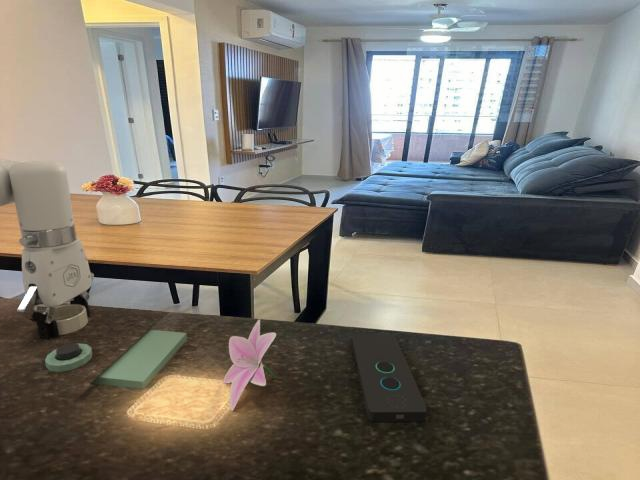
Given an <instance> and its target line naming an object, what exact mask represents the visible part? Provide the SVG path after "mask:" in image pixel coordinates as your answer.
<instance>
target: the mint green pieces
mask: <svg viewBox="0 0 640 480" xmlns="http://www.w3.org/2000/svg"><path fill="white" fill-rule="evenodd" d="M187 340H188V333H187V332H179V331H169V330H160V329H159V330H158V329H148V330H147V331H146V332H145V333H144V334H143V335H141V336H140V337H139V338H138V339H137V340H136V341H135V342H134V343H133V344H131V346H129V347H128V348H127V349H126V350H125V351H124V352H123V353H121V355H119V356H118V357H117V359H115V360H114V361H113V362H112V363H111V364H110V365H109V366H107V368H105V369H104V370H103V371H102V372H101V373H100V374H99V375H98V376H97V377H96V378H94V380H92V381H91V382H90V383H89V384H90V385H91V384H92V385H99V386H100V385H101V386H109V387H118V388H127V389H137V390H145V389H146V388H147V387H148V386H149V384H150V383H151V382H152V381H153V380H154V379H155V378H156V376H157V375H158V374H159V373H160V372H161V371H162V369H163V368H164V367H165V366H166V365H167V363H168V362H169V361H170V360H171V359H172V358H173V356H174V355H176V353H177V352H178V351H179V349H180V348H181V347H183V345H184V344H185V343H186V342H187ZM76 344H78V345H79V347H80V355H79V356H78V357H75V358H73V359H70V360H65V361H59V360H58V359H57V354H56V350H57V349H58V348H55V349H54V350H52V351H51V352H50V353H48V354H47V355H46V357H45V359H44V364H45V368H46V369H47V370H48V371H50V372H55V373H63V372H67V371H68V372H69V371H73V370H75V369H78V368H80V367H82V366H84V365H86V364H87V363H88V362H89V361H90V360H91V359H92V357H93V349H92V347H91V346H90V345H89V344H86V343H79V342H78V343H76Z"/></svg>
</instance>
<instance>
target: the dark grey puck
mask: <svg viewBox="0 0 640 480" xmlns="http://www.w3.org/2000/svg"><path fill="white" fill-rule="evenodd" d="M78 344H79V343H78ZM78 344H77V343H76V342H71V343H66V344H63V345H61V346H59V347H57V348H56V349H57V350H56V349H55V350H56V354H57V359H58V360H59V361H65V360H70V359H73V358H75V357H78V356H79V355H80V347H79V345H78Z"/></svg>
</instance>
